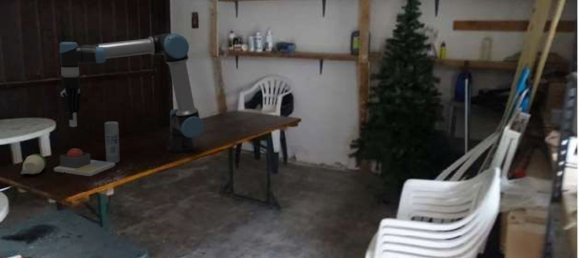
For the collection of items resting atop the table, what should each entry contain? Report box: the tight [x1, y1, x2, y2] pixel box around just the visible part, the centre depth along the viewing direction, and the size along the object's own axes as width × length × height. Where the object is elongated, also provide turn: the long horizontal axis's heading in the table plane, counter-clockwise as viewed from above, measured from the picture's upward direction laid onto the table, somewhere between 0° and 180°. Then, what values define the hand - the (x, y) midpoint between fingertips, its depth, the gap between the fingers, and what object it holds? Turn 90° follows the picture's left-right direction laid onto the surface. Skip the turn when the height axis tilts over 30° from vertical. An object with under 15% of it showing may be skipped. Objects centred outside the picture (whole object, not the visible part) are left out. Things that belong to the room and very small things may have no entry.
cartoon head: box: [20, 153, 47, 175], centre depth 225 cm, size 9×10×20 cm
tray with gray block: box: [53, 152, 116, 177], centre depth 234 cm, size 20×18×6 cm
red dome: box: [66, 147, 84, 158], centre depth 234 cm, size 7×7×7 cm
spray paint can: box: [104, 120, 121, 164], centre depth 245 cm, size 6×6×20 cm
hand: (73, 126), depth 231 cm, fingers closed
